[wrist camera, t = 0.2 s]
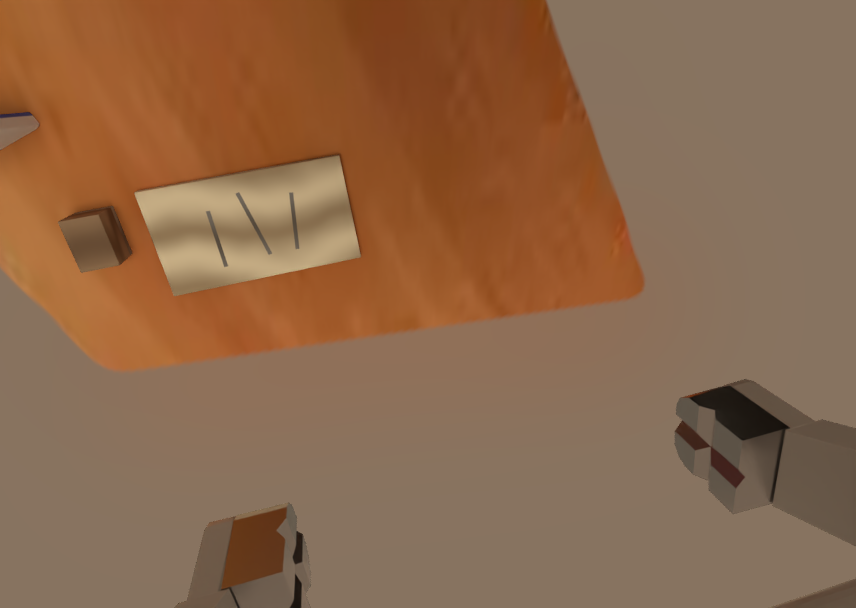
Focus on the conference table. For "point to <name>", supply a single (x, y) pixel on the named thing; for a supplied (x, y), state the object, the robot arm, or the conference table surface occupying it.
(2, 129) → the hard drive
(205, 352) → the conference table surface
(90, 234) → the block
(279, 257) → the board
